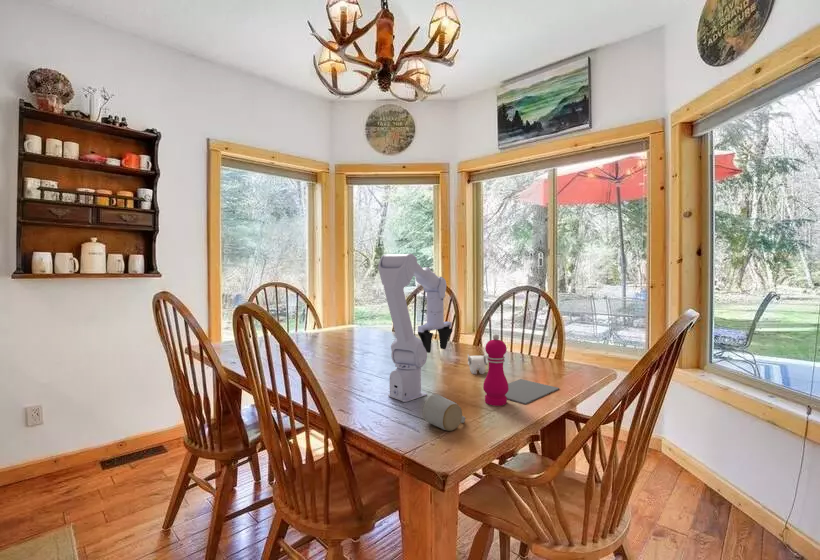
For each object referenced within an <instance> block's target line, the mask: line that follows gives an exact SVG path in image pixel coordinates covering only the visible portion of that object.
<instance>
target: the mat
mask: <svg viewBox="0 0 820 560" xmlns="http://www.w3.org/2000/svg"><path fill="white" fill-rule="evenodd" d="M508 388H509V390H508V392H507V393H506V394H505V396H506V397H507V401H512V402H515V403H518V404H522V405H528V404H530V403H532V402H534V401H536V400H538V399H541V398H543V397H546V396H548V395H549V393H550V394H552V393H554V392H557V391H559V390H560V387H557V386H552V385H548V384H544V383H539V382H537V381H536V382H535V381H531V380H527V379H524V378H523V379H522V378H519V379H516V380H514V381H511V382H508ZM558 389H559V390H558ZM551 392H552V393H551ZM547 394H548V395H547Z"/></svg>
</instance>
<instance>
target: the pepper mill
mask: <svg viewBox="0 0 820 560" xmlns="http://www.w3.org/2000/svg"><path fill="white" fill-rule="evenodd" d="M484 350H485V354H486V353H487V358H488V359H487V361H488V370H487V374H486V376H485V379H484V381H483V385H482V388H483V392H484V393H485V395H484V403H486V404H487V405H488V406H493V407H503V406H505V405H506V404H507V403H508V402H507V401H508V399H507V397H506V396H505V394H506V393H507V392H508V390H509V388H508V383H509V382H508V380H507V378H506V375H505V371H504V363H505V359H506V358H505V355H506V353H507V345H506V343H505V342H504V341H503V340H501V339H500V336H499V334H497V333H495V334H494V335H493V336H492V339H490V340H488V341H487V343H486V344H485V349H484Z"/></svg>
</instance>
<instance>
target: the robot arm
mask: <svg viewBox="0 0 820 560" xmlns="http://www.w3.org/2000/svg"><path fill="white" fill-rule="evenodd" d="M377 268H378V273H379V277H380V280H381V283H382V285H383V290H384V294H385V295H384V296H385V298H386V302H387V306H388V309H389V310H388V311H389V314H390V317H391V321H392V325H393V331H394V333H395V339H394V340H392V341H393V342H391V345H390V349H391V354H390V355H391V356H390V357H391V360H392V363H394V364H395V367H396V368H395V369H394V370H392V371H391V372H390V374H389V393H388V394H387V396H388V397H390V398H393V399H395V400H397V401H400V402H404V403H407V402H410V401H412V400H416V399H419V398H423V397H425V396H428V393H426V392H423V391H422V368H423V367H424V365H426V362H427V360H428V354H429V353H431V350H432V339H433V336H434V333H433V332H431V331H435V330H437V333H438V337H439V347H440V349H442V350H446V349H447V346H448V341H449V339H450V336H451V334H452V333H453V328H452V327H453V325H452V321H444V320H445V319H444V298H445V297H446V290H447V281H446V278H444V277H443V276H438V275H437V274H436V273H435V272H433V270H431V269H430V267H429V266H427V267H426V266H425V267H422V266H421V265H420V264H419V263H418V259H417V256H415V255H414V254H413V253H404V254H403V253H399V254H397V253H395V254H393V253H391V254H389V253H384V254H382V255H381V256H380V259H379V262H378V266H377ZM413 277H414V278H415V281H416V282H417V284H418V285H420V286H422V288H423V291H424V293H426V323H424V324H422V325H418V326H417V335H418V336H419V338H418V337H417V336H416V335H415V334H414V330H413V325H412V321H411V317H410V311H409V308H408V305H407V300H406V295H405V291H404V288H405V287H407V286H409V285H410V283H411V281H412V279H413Z"/></svg>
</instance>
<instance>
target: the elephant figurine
mask: <svg viewBox="0 0 820 560" xmlns="http://www.w3.org/2000/svg"><path fill="white" fill-rule="evenodd" d="M487 356H488V354H487V353H486V352H485V353H484V355H469V353H467V365H468V366H469V371H470V372H471V374H472V375H477V374H478V372H479V374H480V375H484V374H486V366H487V365H488V364H489V362H488V361H487V359H488V358H487Z"/></svg>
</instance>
